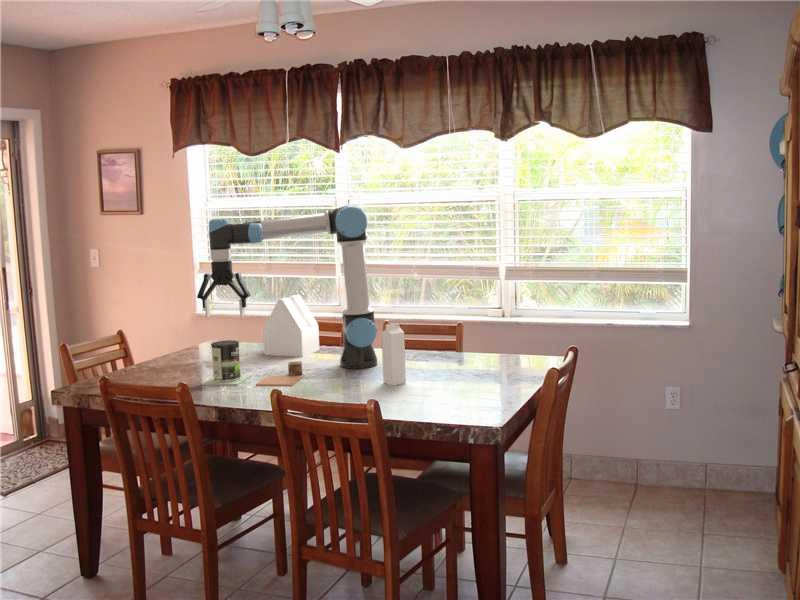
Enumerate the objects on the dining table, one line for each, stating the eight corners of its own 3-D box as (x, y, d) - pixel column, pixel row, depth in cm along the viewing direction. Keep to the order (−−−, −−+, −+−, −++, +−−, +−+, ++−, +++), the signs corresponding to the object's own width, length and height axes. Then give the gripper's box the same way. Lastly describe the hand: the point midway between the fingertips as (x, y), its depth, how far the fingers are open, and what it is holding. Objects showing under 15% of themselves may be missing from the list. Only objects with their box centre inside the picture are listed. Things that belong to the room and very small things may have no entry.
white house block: (319, 350, 353) (316, 295, 350) (302, 357, 339) (299, 299, 336) (282, 348, 360) (279, 294, 357) (264, 354, 346) (261, 298, 343)
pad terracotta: (303, 377, 301) (303, 375, 300) (292, 386, 287) (292, 384, 287) (268, 376, 303) (268, 375, 303) (255, 385, 289) (255, 384, 289)
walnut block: (302, 373, 307) (301, 361, 306) (301, 376, 302) (301, 363, 301) (289, 374, 306) (288, 361, 306) (288, 377, 302) (288, 364, 301)
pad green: (251, 376, 304) (250, 375, 304) (237, 385, 290) (237, 383, 290) (216, 376, 306) (216, 374, 306) (202, 385, 293) (202, 383, 293)
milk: (405, 383, 286) (404, 323, 283) (392, 385, 282) (391, 325, 279) (396, 380, 291) (394, 321, 288) (382, 382, 287) (381, 323, 284)
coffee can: (245, 376, 303) (243, 340, 301) (234, 382, 293) (232, 345, 291) (220, 375, 305) (218, 340, 303) (208, 382, 295) (206, 345, 293)
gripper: (256, 258, 295) (260, 314, 298) (193, 260, 299) (198, 315, 302) (249, 260, 287) (253, 317, 290) (185, 262, 291) (189, 318, 294)
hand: (225, 316), depth 296 cm, fingers open, 13 cm apart
